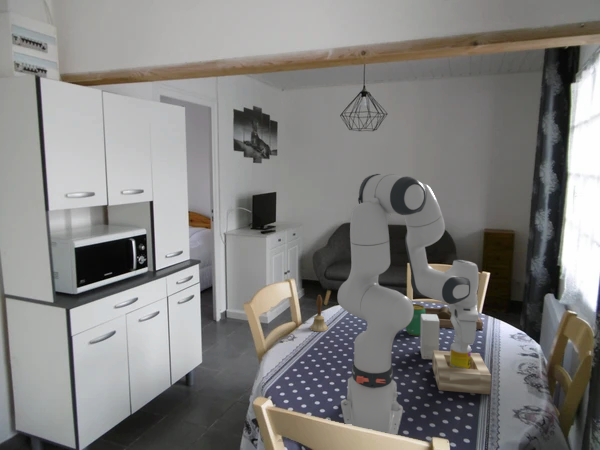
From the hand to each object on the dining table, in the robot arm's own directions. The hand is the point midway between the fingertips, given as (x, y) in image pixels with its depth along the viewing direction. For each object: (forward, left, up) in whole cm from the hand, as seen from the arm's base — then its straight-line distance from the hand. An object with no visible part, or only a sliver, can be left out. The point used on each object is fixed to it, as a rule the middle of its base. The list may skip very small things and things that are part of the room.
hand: (460, 345), depth 142 cm
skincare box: (+18, +8, -13) cm, 23 cm away
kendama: (+57, -8, -13) cm, 59 cm away
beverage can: (+40, +11, -13) cm, 43 cm away
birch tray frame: (0, 0, -13) cm, 13 cm away
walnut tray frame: (+56, -6, -13) cm, 58 cm away
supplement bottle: (0, 0, -10) cm, 10 cm away
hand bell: (+38, +54, -13) cm, 67 cm away
